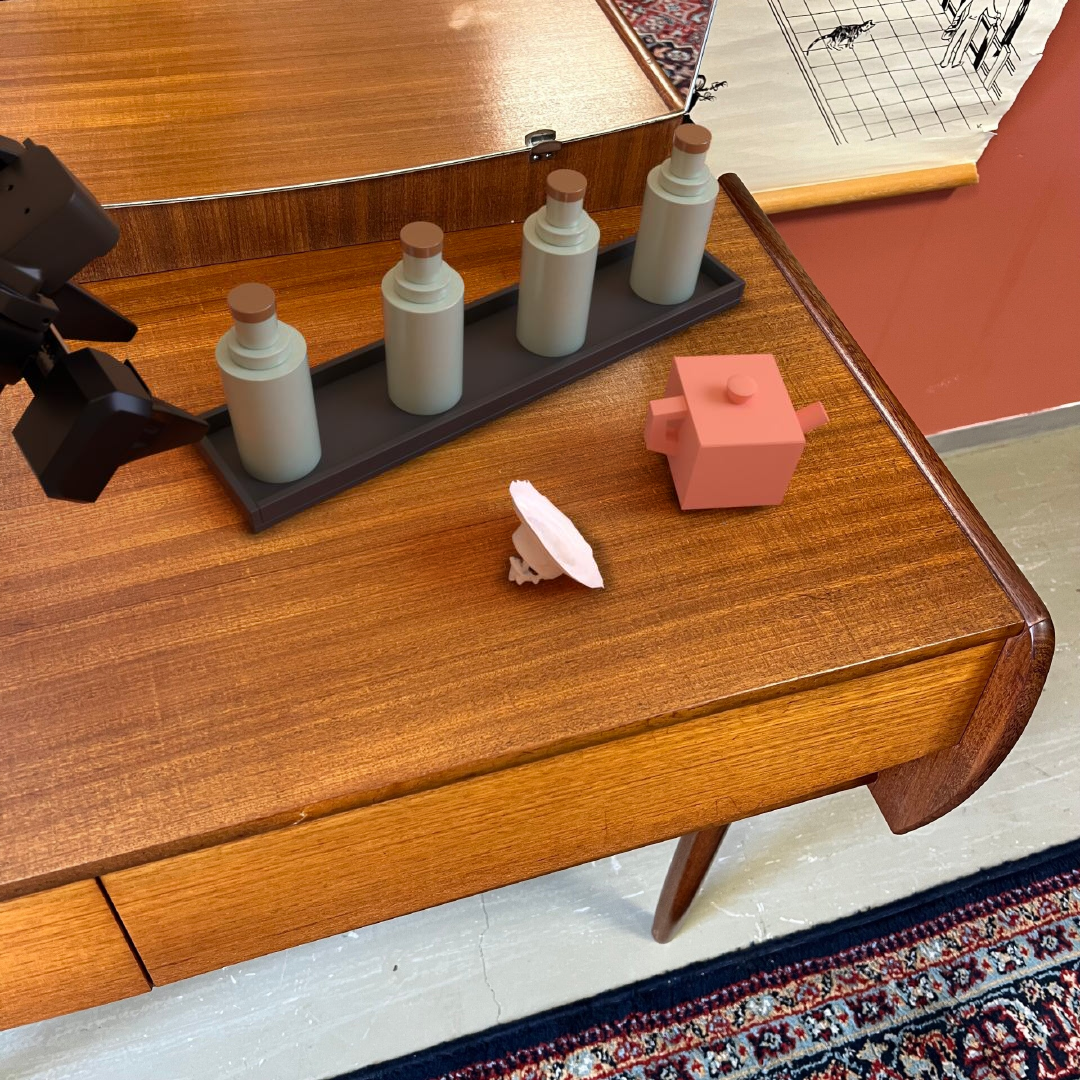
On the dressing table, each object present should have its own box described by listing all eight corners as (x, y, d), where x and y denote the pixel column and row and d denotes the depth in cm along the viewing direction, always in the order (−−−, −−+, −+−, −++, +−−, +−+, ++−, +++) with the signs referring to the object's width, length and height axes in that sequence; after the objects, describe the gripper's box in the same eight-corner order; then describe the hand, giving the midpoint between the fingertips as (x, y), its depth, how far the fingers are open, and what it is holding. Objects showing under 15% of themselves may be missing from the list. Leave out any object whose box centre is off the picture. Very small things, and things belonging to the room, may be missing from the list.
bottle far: (632, 304, 78) (659, 152, 68) (626, 261, 81) (652, 110, 71) (698, 306, 78) (736, 156, 68) (690, 264, 81) (725, 114, 71)
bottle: (256, 494, 64) (220, 339, 54) (228, 439, 66) (189, 282, 56) (334, 467, 66) (313, 312, 56) (303, 415, 68) (278, 258, 58)
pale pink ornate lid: (522, 590, 66) (470, 484, 63) (597, 558, 66) (548, 450, 63) (530, 646, 59) (472, 529, 56) (614, 610, 58) (560, 490, 55)
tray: (255, 534, 63) (250, 513, 61) (190, 442, 67) (183, 420, 65) (740, 303, 80) (746, 281, 78) (664, 241, 84) (669, 219, 82)
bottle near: (385, 414, 69) (374, 259, 59) (390, 362, 72) (380, 206, 62) (461, 417, 69) (464, 263, 59) (463, 364, 72) (466, 210, 62)
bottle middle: (516, 356, 73) (527, 202, 63) (515, 309, 76) (525, 155, 66) (587, 358, 74) (610, 206, 64) (583, 311, 77) (604, 159, 67)
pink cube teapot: (823, 511, 67) (864, 425, 61) (647, 521, 66) (669, 433, 59) (790, 426, 72) (825, 337, 65) (625, 433, 70) (644, 343, 64)
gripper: (41, 249, 37) (334, 366, 50) (-115, 26, 45) (171, 176, 58) (-99, 480, 40) (213, 532, 53) (-221, 230, 48) (75, 329, 61)
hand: (167, 381), depth 56 cm, fingers open, 9 cm apart
